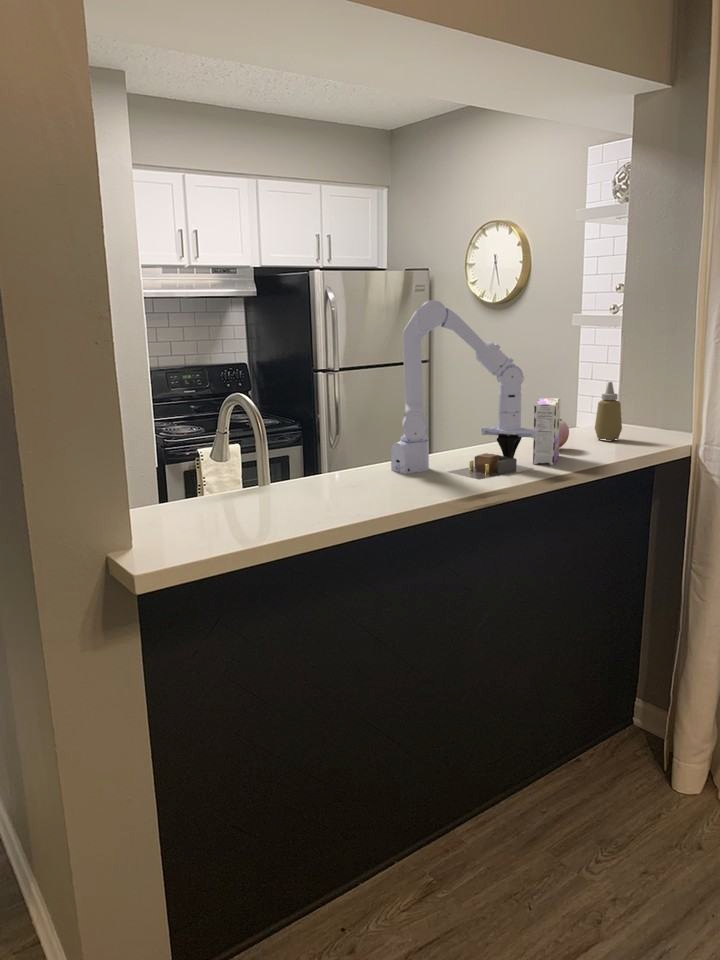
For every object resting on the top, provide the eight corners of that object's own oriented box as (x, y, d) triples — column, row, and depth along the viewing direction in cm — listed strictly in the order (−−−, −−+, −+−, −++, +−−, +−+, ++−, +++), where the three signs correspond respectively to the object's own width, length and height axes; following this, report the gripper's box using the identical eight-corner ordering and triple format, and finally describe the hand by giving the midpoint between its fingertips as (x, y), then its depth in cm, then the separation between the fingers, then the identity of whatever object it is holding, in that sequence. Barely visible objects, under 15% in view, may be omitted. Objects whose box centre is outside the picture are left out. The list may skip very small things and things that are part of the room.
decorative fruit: (540, 446, 235) (541, 413, 232) (568, 447, 233) (569, 413, 230) (539, 452, 226) (540, 418, 224) (568, 453, 224) (569, 418, 222)
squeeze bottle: (615, 437, 246) (618, 380, 242) (625, 441, 238) (628, 383, 234) (590, 438, 246) (592, 381, 242) (599, 442, 238) (602, 383, 234)
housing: (499, 473, 194) (499, 461, 193) (474, 467, 201) (474, 456, 200) (516, 470, 197) (516, 458, 196) (491, 464, 204) (491, 453, 204)
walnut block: (489, 473, 195) (489, 457, 194) (476, 471, 197) (476, 455, 197) (498, 470, 197) (498, 454, 197) (485, 468, 200) (485, 453, 199)
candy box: (538, 455, 222) (539, 397, 219) (559, 455, 220) (561, 397, 217) (532, 464, 209) (533, 403, 206) (554, 465, 208) (556, 403, 204)
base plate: (478, 484, 188) (478, 469, 188) (446, 476, 198) (446, 461, 197) (534, 473, 199) (534, 459, 198) (501, 466, 208) (501, 452, 208)
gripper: (476, 412, 199) (476, 464, 202) (531, 414, 191) (530, 469, 194) (487, 408, 205) (487, 459, 208) (541, 411, 197) (539, 463, 200)
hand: (508, 463), depth 201 cm, fingers closed
